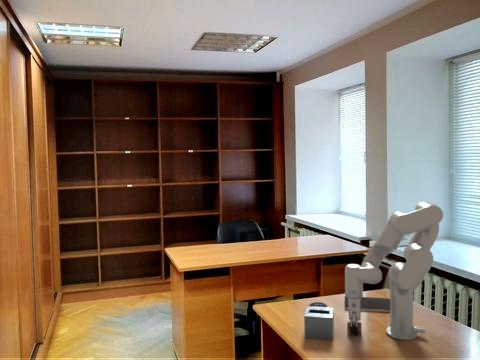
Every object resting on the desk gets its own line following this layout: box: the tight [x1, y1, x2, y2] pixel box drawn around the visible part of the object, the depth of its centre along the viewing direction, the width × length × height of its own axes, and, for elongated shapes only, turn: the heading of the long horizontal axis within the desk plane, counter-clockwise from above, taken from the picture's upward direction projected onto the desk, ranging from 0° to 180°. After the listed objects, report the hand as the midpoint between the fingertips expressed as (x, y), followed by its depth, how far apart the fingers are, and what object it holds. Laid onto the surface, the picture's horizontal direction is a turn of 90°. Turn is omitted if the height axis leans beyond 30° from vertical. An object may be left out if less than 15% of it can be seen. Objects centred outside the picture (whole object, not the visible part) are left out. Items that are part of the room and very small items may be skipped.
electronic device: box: [308, 301, 328, 307], centre depth 216 cm, size 9×6×15 cm
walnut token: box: [346, 320, 362, 336], centre depth 189 cm, size 6×2×5 cm, turn 75°
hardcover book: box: [344, 295, 390, 313], centre depth 222 cm, size 16×23×2 cm
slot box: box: [303, 305, 335, 342], centre depth 190 cm, size 12×12×10 cm
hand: (354, 330), depth 189 cm, fingers open, 8 cm apart
